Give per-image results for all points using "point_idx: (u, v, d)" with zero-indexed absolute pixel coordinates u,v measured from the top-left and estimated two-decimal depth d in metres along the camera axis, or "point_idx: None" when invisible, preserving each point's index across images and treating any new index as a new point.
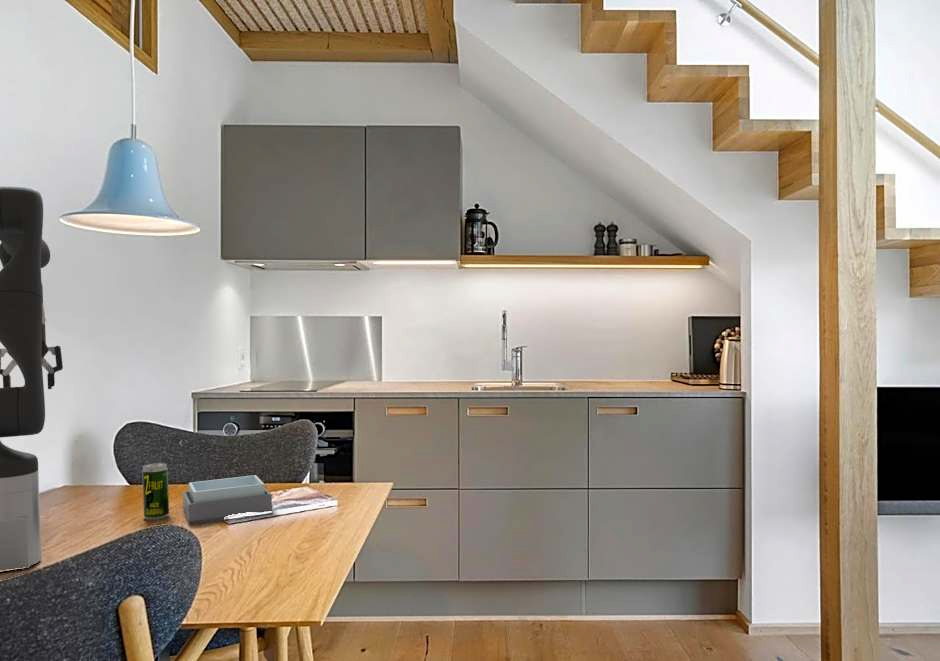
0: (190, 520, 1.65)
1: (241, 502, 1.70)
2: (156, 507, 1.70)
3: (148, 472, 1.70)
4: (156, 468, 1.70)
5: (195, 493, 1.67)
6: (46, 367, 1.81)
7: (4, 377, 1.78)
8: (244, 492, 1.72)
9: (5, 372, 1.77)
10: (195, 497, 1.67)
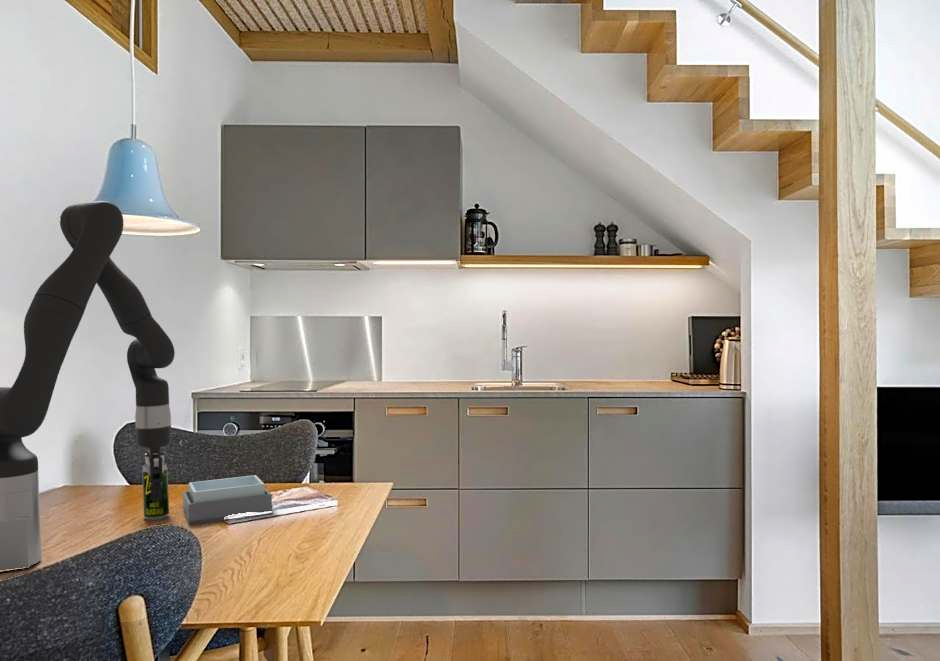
0: (190, 520, 1.65)
1: (241, 502, 1.70)
2: (156, 507, 1.70)
3: None
4: None
5: (195, 493, 1.67)
6: None
7: (159, 486, 1.69)
8: (244, 492, 1.72)
9: None
10: (195, 497, 1.67)
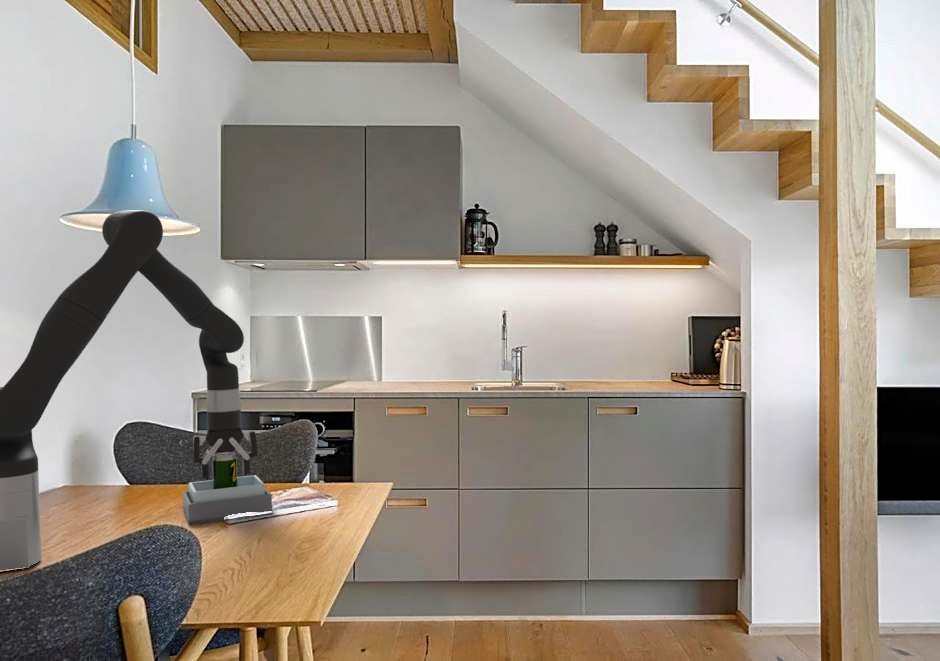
0: (190, 520, 1.65)
1: (241, 502, 1.70)
2: None
3: (235, 458, 1.75)
4: (234, 454, 1.76)
5: (195, 493, 1.67)
6: None
7: None
8: (244, 492, 1.72)
9: None
10: (195, 497, 1.67)
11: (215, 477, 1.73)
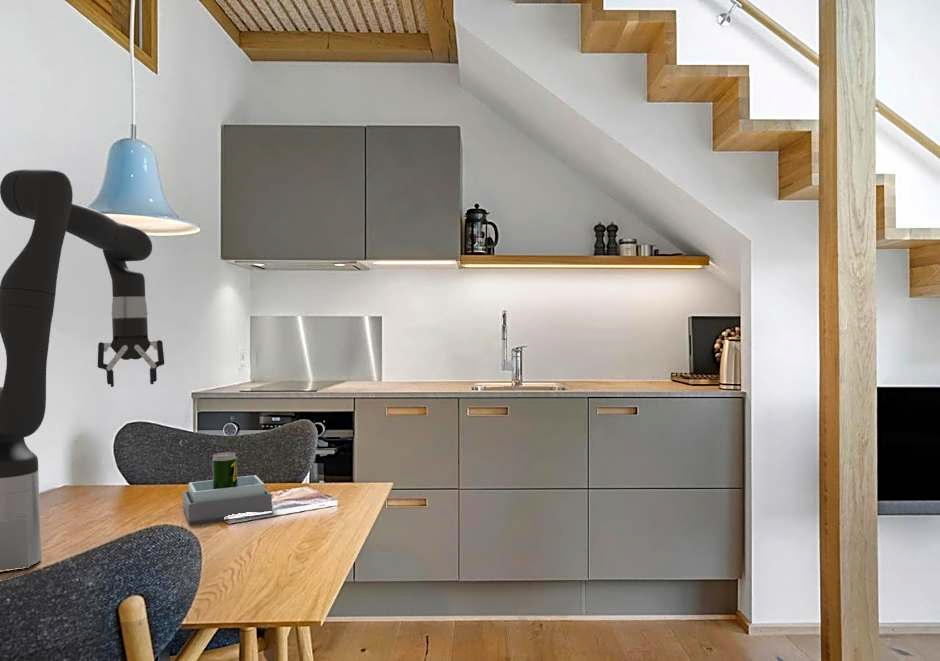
0: (190, 520, 1.65)
1: (241, 502, 1.70)
2: None
3: (235, 458, 1.75)
4: (234, 454, 1.76)
5: (195, 493, 1.67)
6: None
7: None
8: (244, 492, 1.72)
9: None
10: (195, 497, 1.67)
11: (215, 477, 1.73)
